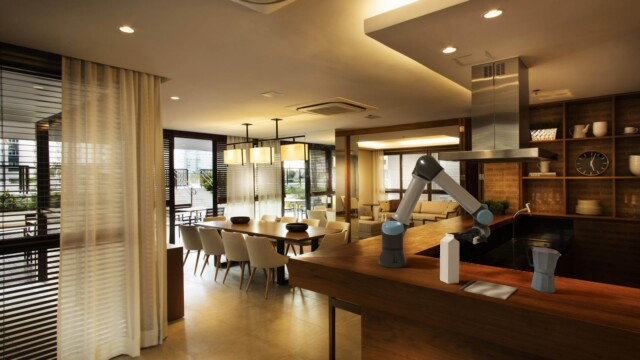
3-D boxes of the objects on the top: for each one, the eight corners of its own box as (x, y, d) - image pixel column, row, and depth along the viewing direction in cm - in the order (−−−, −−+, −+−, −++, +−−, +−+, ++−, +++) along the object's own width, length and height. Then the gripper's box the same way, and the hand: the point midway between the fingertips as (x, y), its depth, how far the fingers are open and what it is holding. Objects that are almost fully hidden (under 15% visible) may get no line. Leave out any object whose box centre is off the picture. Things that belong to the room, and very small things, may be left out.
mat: (457, 289, 150) (457, 287, 150) (472, 280, 163) (472, 279, 163) (505, 299, 138) (505, 298, 138) (517, 289, 151) (517, 287, 151)
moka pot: (554, 296, 142) (554, 247, 142) (517, 286, 155) (518, 241, 155) (567, 293, 146) (567, 245, 146) (530, 283, 160) (531, 239, 160)
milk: (447, 284, 158) (448, 235, 158) (439, 280, 164) (439, 233, 164) (459, 282, 160) (459, 234, 160) (450, 279, 166) (450, 232, 165)
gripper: (500, 244, 177) (486, 250, 161) (451, 239, 194) (435, 244, 178) (500, 229, 177) (486, 234, 161) (451, 225, 194) (434, 229, 178)
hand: (459, 239), depth 170 cm, fingers open, 13 cm apart
